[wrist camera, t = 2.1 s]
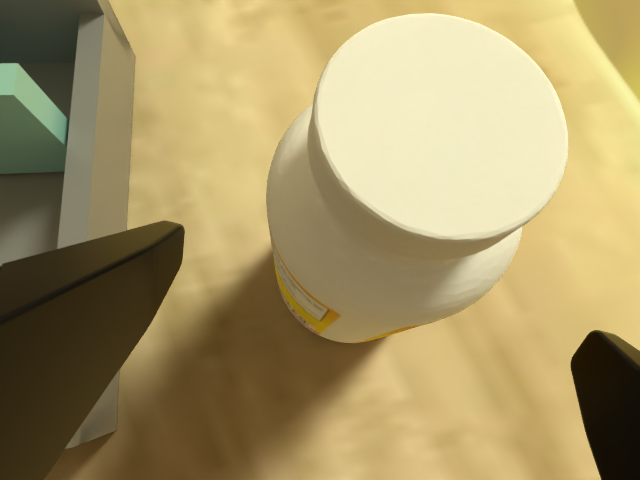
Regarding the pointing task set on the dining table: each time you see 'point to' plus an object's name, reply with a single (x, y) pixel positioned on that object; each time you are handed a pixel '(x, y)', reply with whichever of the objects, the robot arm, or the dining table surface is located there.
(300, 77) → the dining table surface
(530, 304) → the dining table surface
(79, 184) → the tray
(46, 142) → the pusher plate
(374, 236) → the supplement bottle
